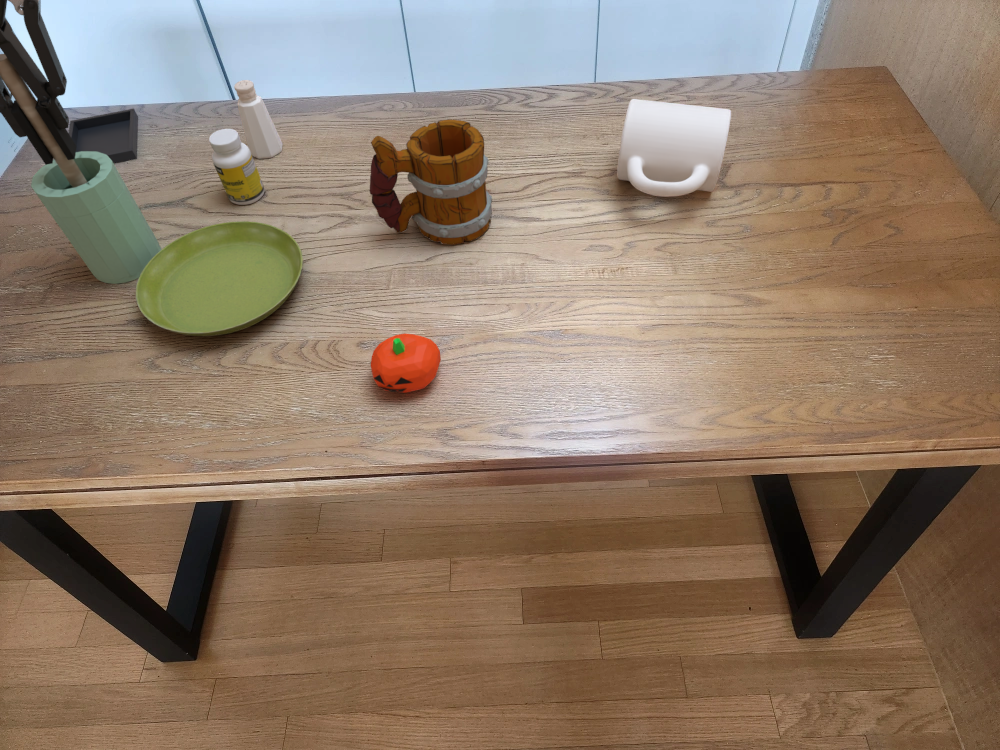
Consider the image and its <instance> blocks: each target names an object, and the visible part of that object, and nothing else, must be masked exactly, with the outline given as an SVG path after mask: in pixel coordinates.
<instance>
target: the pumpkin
mask: <svg viewBox="0 0 1000 750" xmlns="http://www.w3.org/2000/svg"><path fill="white" fill-rule="evenodd" d="M441 360H442V359H441V350H440V349H439V346H438V344H437V343H435V341H433V340H432V339H431V338H428V337H425V336H422V335H418V334H413V333H406V332H405V333H399V334H395V335H393V336H390V337H388V338H386V339H385V340H383V341H382V342H380V343H379V344H378V345H377V346H376V347H375V349H374V350H373V351H372V355H371V359H370V369H371V375H372V378H373V380H374V382H375V384H376V386H377V387H378V388H379V389H381V390H383V391H385V392H392V393H404V394H405V393H410V392H415V391H419V390H423V389H425V388H426V387H427V386H428V385H429V384H431V383H432V382H433V380H434V379H435V378H436V376H437V374H438V371H439V368H440V364H441Z"/></svg>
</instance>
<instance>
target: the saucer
mask: <svg viewBox="0 0 1000 750" xmlns="http://www.w3.org/2000/svg"><path fill="white" fill-rule="evenodd" d="M161 249H162V250H160V251H159V252H158V253H157V254H156V255H155V256H154V257H153V258H152V259H151V260H150V261H149V262H148V264H147V265H146V266H145V268H144V269H143V271H142V273H141V274H140V277H139V278H138V279H137V282H136V287H135V300H136V304H137V307H138V309H139V310H140V312H141V314H142V315H143V316H144V317H145V318H146V320H148V321H149V322H150V323H152V324H154V325H156V326H158V327H159V328H162V329H164V330H167V331H168V332H169V331H170V332H173V333H176V334H180V335H186V336H191V337H192V336H193V337H211V336H212V337H213V336H220V335H221V336H222V335H227V334H232V333H235V332H239V331H242V330H245V329H247V328H250V327H252V326H254V325H256V324H258V323H260V322H261V321H263V320H264V319H266V318H268V317H269V316H270V315H272V314H273V313H274V312H276V311H277V310H278V309H279V308H280V307H281V306H283V304H284V303H285V302H286V301H287V300H288V299H289V297H290V296H291V295H292V293H293V291H294V290H295V288H296V287H297V284H298V282H299V280H300V277H301V274H302V270H303V266H304V259H303V252H302V250H301V247H300V245H299V243H298V242H297V241H296V239H295V238H294V237H293V236H292V235H291V234H290V233H288V232H287V231H285V230H284V229H281V228H280V227H277V226H275V225H273V224H268V223H264V222H260V221H259V222H258V221H248V220H247V221H246V220H244V221H243V220H242V221H241V220H237V221H228V222H221V223H216V224H211V225H207V226H203V227H202V228H201V227H200V228H198V229H195V230H193V231H190V232H188V233H186V234H184V235H182V236H180V237H178V238H177V239H175V240H173V241H172V242H170V243H169V244H167V245H165V247H163V248H161Z"/></svg>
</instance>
